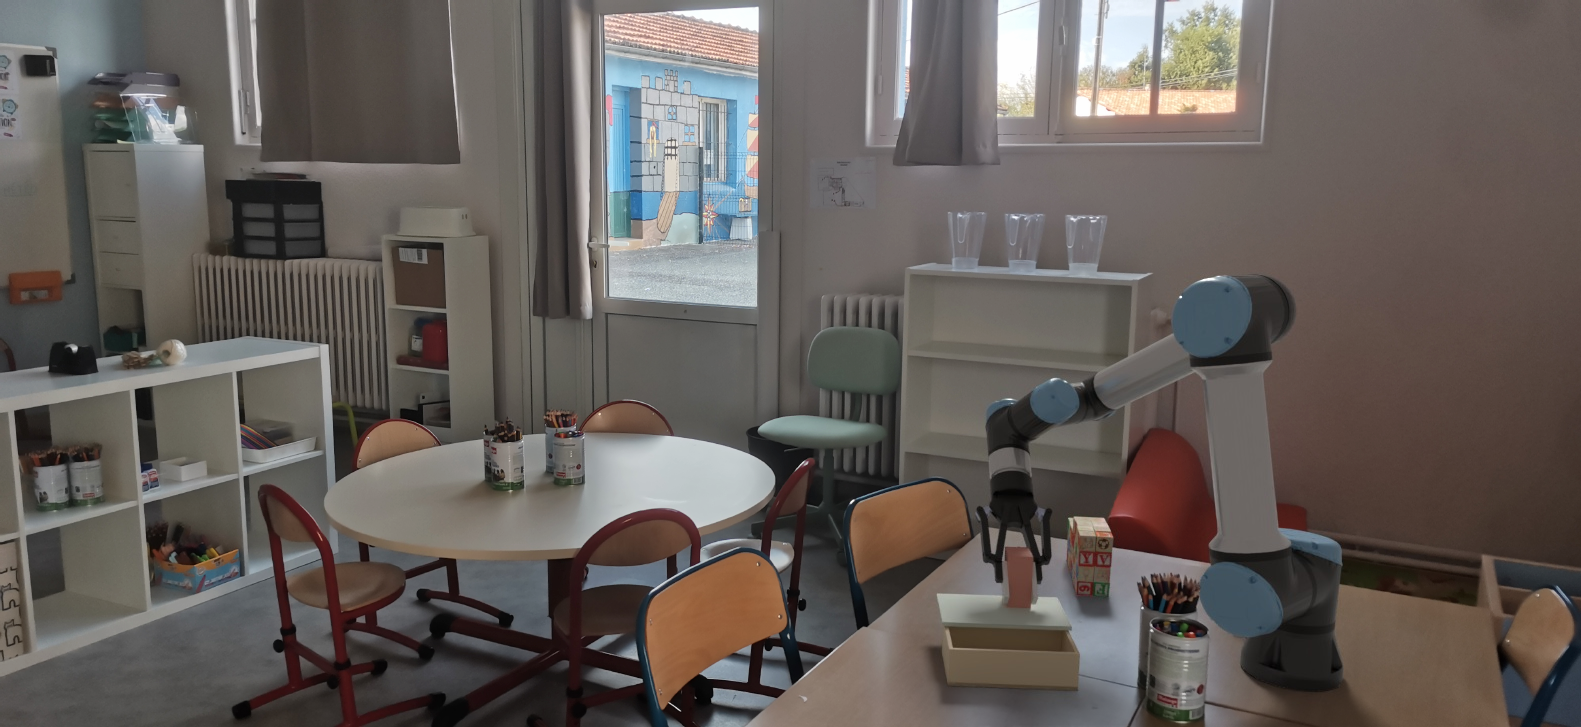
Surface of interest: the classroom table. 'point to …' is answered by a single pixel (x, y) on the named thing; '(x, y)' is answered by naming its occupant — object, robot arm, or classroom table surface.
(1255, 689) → the classroom table surface
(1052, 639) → the carton
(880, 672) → the classroom table surface
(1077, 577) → the stack of blocks
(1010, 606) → the lid
